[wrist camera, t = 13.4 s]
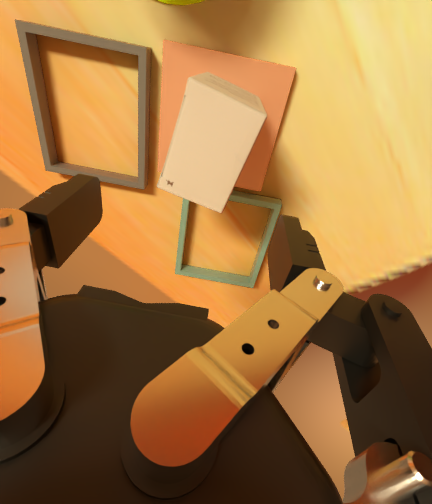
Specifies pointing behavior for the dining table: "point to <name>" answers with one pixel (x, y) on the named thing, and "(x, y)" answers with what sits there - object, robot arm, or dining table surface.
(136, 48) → the grey rectangular frame
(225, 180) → the small box
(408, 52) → the dining table surface
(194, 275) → the green rectangular frame
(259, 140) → the terracotta tile
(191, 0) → the toy cauldron
